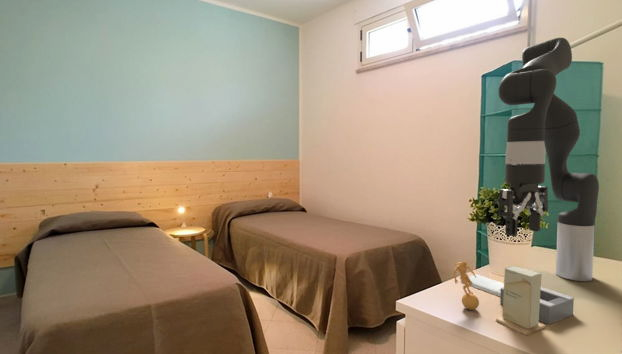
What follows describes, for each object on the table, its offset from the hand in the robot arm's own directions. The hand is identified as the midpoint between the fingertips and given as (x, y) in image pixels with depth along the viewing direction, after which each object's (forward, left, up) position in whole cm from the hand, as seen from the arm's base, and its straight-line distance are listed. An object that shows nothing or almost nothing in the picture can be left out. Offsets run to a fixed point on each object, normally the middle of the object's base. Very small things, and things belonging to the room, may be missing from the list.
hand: (523, 233), depth 76 cm
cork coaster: (0, 0, -22) cm, 22 cm away
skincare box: (0, 0, -21) cm, 21 cm away
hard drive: (-14, -19, -22) cm, 32 cm away
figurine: (+4, -12, -22) cm, 25 cm away
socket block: (-11, -3, -22) cm, 24 cm away
